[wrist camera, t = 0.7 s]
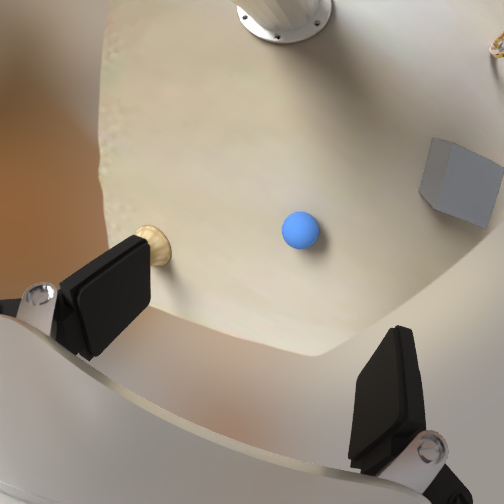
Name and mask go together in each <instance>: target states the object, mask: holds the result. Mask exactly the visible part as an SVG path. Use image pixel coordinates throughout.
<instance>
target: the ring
mask: <svg viewBox="0 0 504 504" xmlns="http://www.w3.org/2000/svg"><path fill="white" fill-rule="evenodd" d="M503 41H504V32H503V33H502V34H501V35H500V36H499V37H498V38H497V39H496V40H495V41H494V42H492V44H491V46H490V48H489V51H490V53H491V54H492V55H493V56H494V57H496V58H502V57H504V51H503V50H504V43H503V44H502V45H501V46H500V44H501V43H502V42H503ZM499 46H500V47H499ZM498 47H499V48H498ZM501 51H503V52H501Z"/></svg>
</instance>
